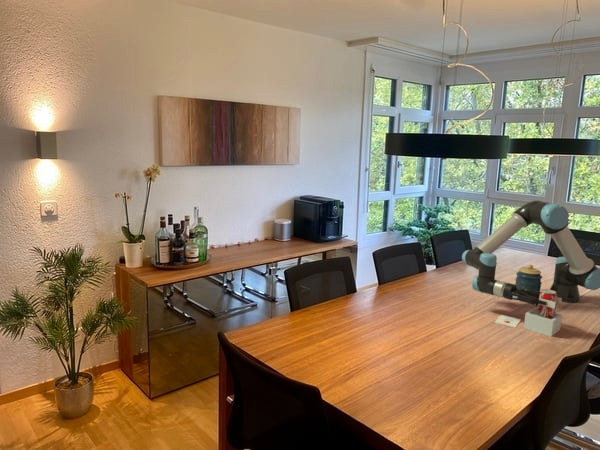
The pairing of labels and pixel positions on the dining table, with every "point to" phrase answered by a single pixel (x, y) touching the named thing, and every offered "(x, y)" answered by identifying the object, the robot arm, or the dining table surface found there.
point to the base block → (542, 323)
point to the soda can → (544, 310)
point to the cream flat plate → (508, 321)
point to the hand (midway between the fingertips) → (558, 303)
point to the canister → (528, 278)
